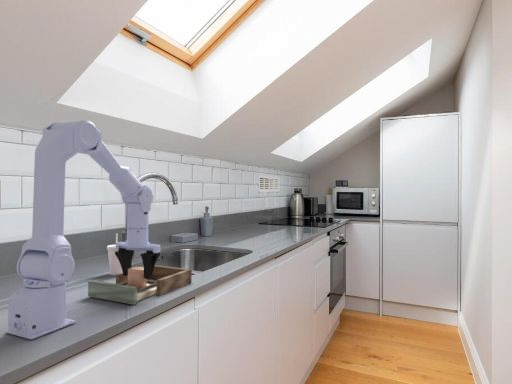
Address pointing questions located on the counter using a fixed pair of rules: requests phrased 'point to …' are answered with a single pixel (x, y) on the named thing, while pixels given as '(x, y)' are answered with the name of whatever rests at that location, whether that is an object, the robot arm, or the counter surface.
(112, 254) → the smoothie
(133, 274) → the peach rounded cylinder
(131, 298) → the tray
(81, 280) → the counter surface
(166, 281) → the dock
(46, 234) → the robot arm
